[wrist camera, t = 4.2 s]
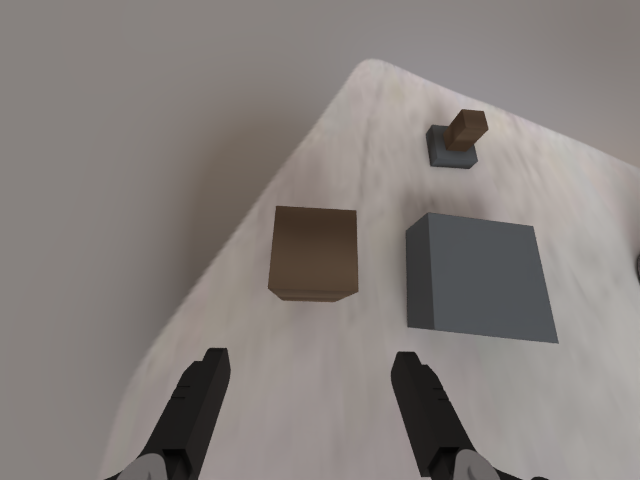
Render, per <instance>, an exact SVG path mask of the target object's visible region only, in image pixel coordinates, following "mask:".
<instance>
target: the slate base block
mask: <svg viewBox="0 0 640 480" xmlns="http://www.w3.org/2000/svg"><path fill="white" fill-rule="evenodd" d="M406 270H407V321H408V327H411V328H420V329H429V330H438V331H447V332H456V333H465V334H474V335H483V336H492V337H501V338H510V339H520V340H529V341H539V342H548V343H558V344H559V342H558V338H557V333H556V329H555V324H554V320H553V315H552V310H551V306H550V301H549V297H548V292H547V288H546V283H545V278H544V274H543V269H542V265H541V260H540V255H539V251H538V246H537V242H536V237H535V233H534V228H533V226H527V225H520V224H512V223H505V222H497V221H489V220H482V219H474V218H466V217H459V216H451V215H444V214H436V213H427V214H426V215H424V216H423V217H422V218H421V219H420V220H418V221H417V222H416V223H415V224H414V225H412V226H411V227H410V228H409V229H408V230H406Z"/></svg>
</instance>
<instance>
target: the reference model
mask: <svg viewBox="0 0 640 480" xmlns="http://www.w3.org/2000/svg"><path fill="white" fill-rule="evenodd" d="M487 130H488V125H487V121H486V118H485V114H484V111H476V110H465V109H462V110H461V111H460V112H459V114H458V115H457V116H456V118H455V119H454V120H453V121H452V123H451V124H450V125H449V126H439V125H432V126H431V127H430V129H429V130H428V132H427V133H426V139H427V145H428V152H429V158H430V165H431V166H436V167H449V168H463V169H470V168H471V167H472V166H473V165H474V164H475V163H477V162H478V159H477V155H476V151H475V146H474V143H475V142H476V141H477V140H478V139H479V138H480V137H481V136H482V135H483V134H484V133H485V132H486V131H487Z"/></svg>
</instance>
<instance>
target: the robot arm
mask: <svg viewBox="0 0 640 480" xmlns="http://www.w3.org/2000/svg"><path fill="white" fill-rule="evenodd" d="M638 271H639V275H640V257H639V260H638ZM230 372H231V369H230V362H229V356H228V350H227V348H209V349H208V350H207V352H206V354H205V356H204V358H203V360H202V361H194V362H193V363H192V364H191V365H190V366H189V367H188V368H187V369H186V370H185V371H184V373H183V374H182V376H181V378H180V380H179V382H178V384H177V387H176V389H175V390H174V392H173V394H172V396H171V399H170V400H169V401H168V403H167V405H166V407H165V409H164V411H163V413H162V415H161V417H160V419H159V421H158V423H157V425H156V427H155V428H154V430H153V432H152V434H151V436H150V438H149V440H148V442H147V444H146V446H145V447H144V449H143V450H142V452H141V453H140V455H139V456H138V457H137V458H136V459H135V460H134V461H133V462H132V463H130V464H129V465H128V466H127V467H126V468H125V469H124V470H123V471H121V472H120V473H118V474H116V475H114V476H112V477H110V478H107V479H105V480H198V477H199V474H200V471H201V468H202V465H203V462H204V459H205V455H206V452H207V449H208V446H209V443H210V440H211V437H212V434H213V430H214V427H215V424H216V421H217V418H218V415H219V412H220V409H221V405H222V402H223V399H224V396H225V393H226V390H227V387H228V384H229V379H230ZM391 382H392V386H393V389H394V393H395V396H396V399H397V402H398V405H399V408H400V412H401V415H402V418H403V421H404V424H405V428H406V431H407V434H408V437H409V440H410V443H411V447H412V450H413V453H414V456H415V459H416V462H417V466H418V469H419V472H420V475H421V477H431V479H432V480H522V479H519V478H517V477H514V476H512V475H509V474H507V473H504V472H502V471H499V470H497V469H496V468H494V467H492V465H491V464H490V463H489V462H488V461H487V460H486V459H485V458H484V457H483V456H481V455H480V454H478V452H477V451H476V450H475V448H474V447H473V445H472V443H471V441H470V439H469V438H468V436H467V434H466V432H465V430H464V428H463V426H462V424H461V422H460V420H459V418H458V416H457V414H456V412H455V410H454V408H453V406H452V404H451V402H450V401H449V398H448V396H447V394H446V392H445V391H444V390H443V386H442V384H441V382H440V380H439V379H438V377H437V375H436V374H435V373H434V372H433V371H432V369H431V368H430V367H429V366H428V365H422V364H421V362H420V360H419V358H418V356H417V354H416V353H415V352H397V355H396V358H395V361H394V364H393V367H392V370H391ZM531 480H548V479H546V478H543V477H534V478H532V479H531Z"/></svg>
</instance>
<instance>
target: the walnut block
mask: <svg viewBox="0 0 640 480" xmlns="http://www.w3.org/2000/svg"><path fill="white" fill-rule="evenodd" d="M268 289H269V290H270V291H272V292H273V293H274V294H275V295H277V296H278V297H279V298H280V299H281V300H283V301H313V302H336V301H338V300H341V299H343V298H345V297H347V296H350V295H352V294H354V293H357V292H358V255H357V216H356V211H355V210H338V209H321V208H304V207H287V206H276V212H275V222H274V232H273V242H272V252H271V262H270V272H269V282H268Z"/></svg>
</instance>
